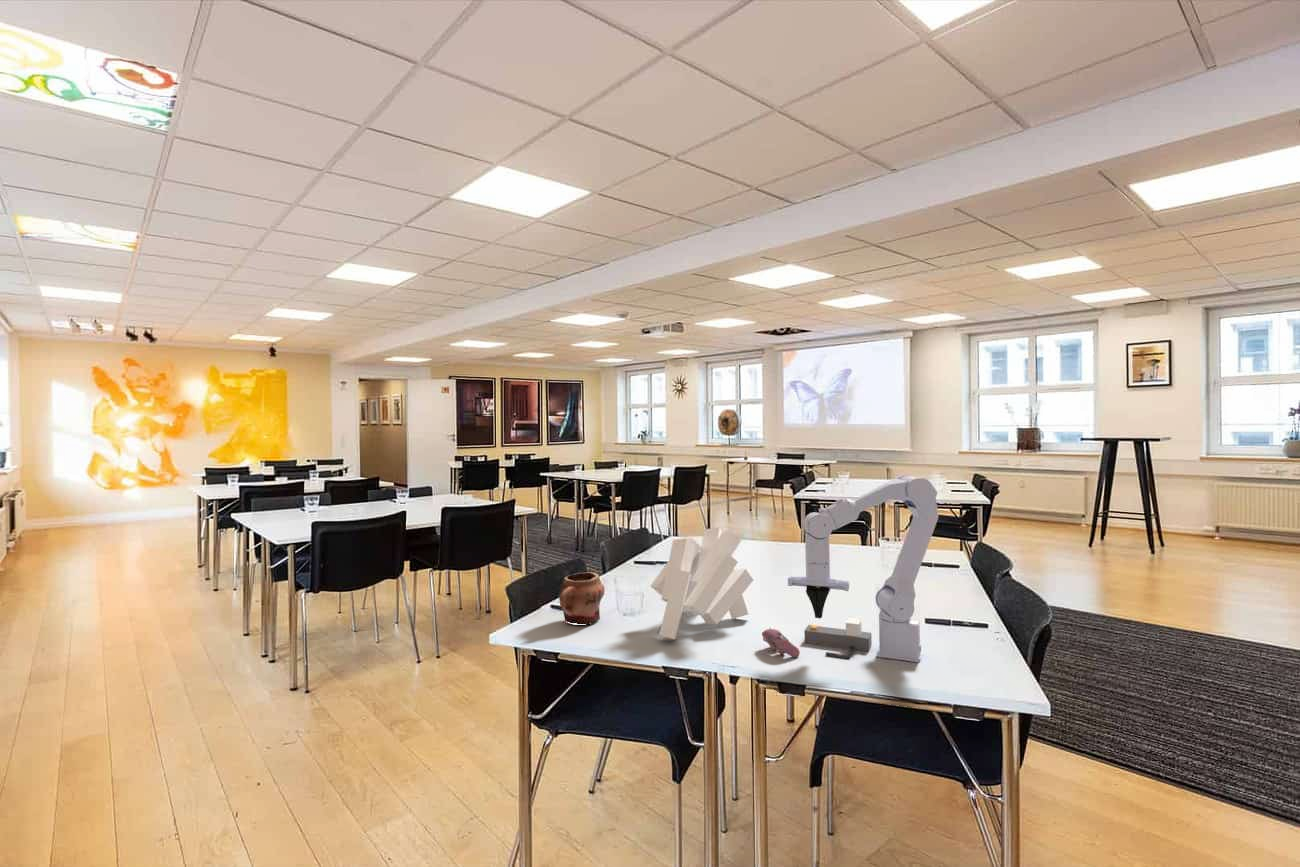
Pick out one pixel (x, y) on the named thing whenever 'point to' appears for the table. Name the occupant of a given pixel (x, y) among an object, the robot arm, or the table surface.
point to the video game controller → (779, 642)
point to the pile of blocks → (702, 581)
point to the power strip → (840, 637)
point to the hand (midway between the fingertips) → (818, 617)
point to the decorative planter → (581, 597)
